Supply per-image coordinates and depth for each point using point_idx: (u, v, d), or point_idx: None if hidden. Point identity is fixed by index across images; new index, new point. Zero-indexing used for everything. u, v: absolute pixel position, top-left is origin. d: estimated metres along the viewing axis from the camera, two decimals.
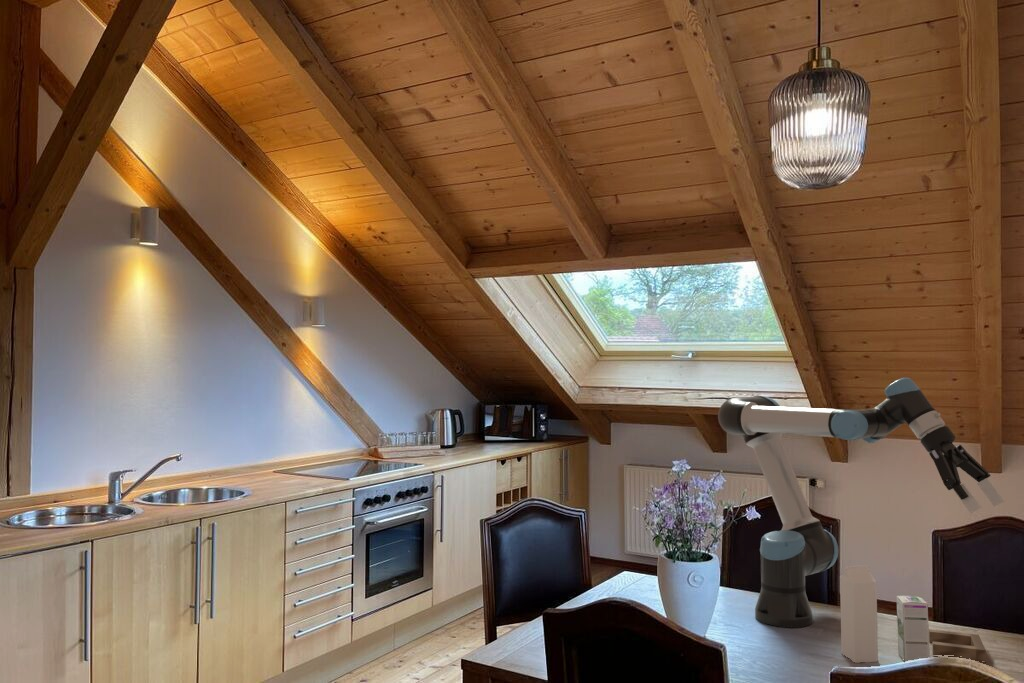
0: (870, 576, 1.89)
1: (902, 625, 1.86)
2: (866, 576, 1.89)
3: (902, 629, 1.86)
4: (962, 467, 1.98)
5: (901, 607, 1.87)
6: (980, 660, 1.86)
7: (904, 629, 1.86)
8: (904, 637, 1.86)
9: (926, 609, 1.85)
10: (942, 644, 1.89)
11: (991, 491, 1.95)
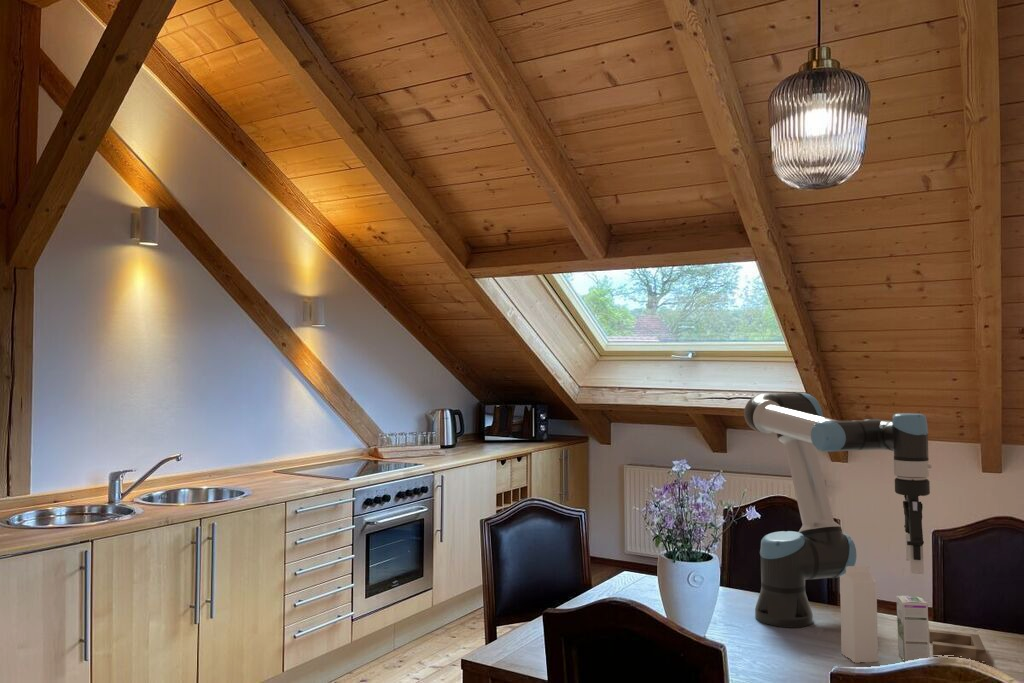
0: (870, 576, 1.89)
1: (902, 625, 1.86)
2: (866, 576, 1.89)
3: (902, 629, 1.86)
4: None
5: (901, 607, 1.87)
6: (980, 660, 1.86)
7: (904, 629, 1.86)
8: (904, 637, 1.86)
9: (926, 609, 1.85)
10: (942, 644, 1.89)
11: None
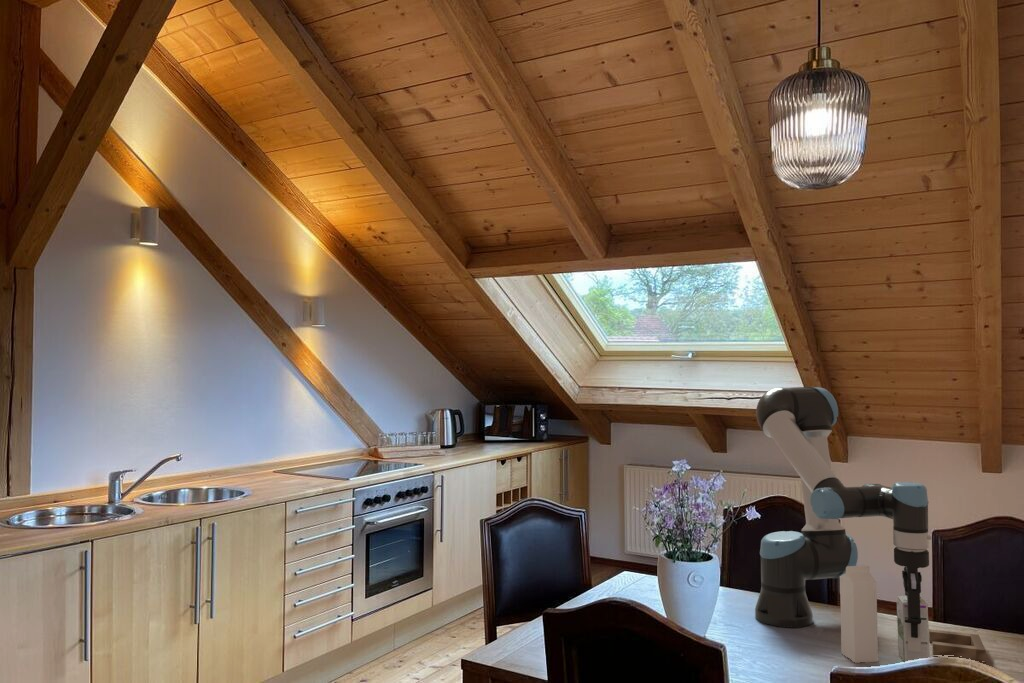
0: (870, 576, 1.89)
1: (902, 625, 1.86)
2: (866, 576, 1.89)
3: (902, 629, 1.86)
4: None
5: (901, 607, 1.87)
6: (980, 660, 1.86)
7: (904, 629, 1.86)
8: (904, 637, 1.86)
9: (926, 609, 1.85)
10: (942, 644, 1.89)
11: None
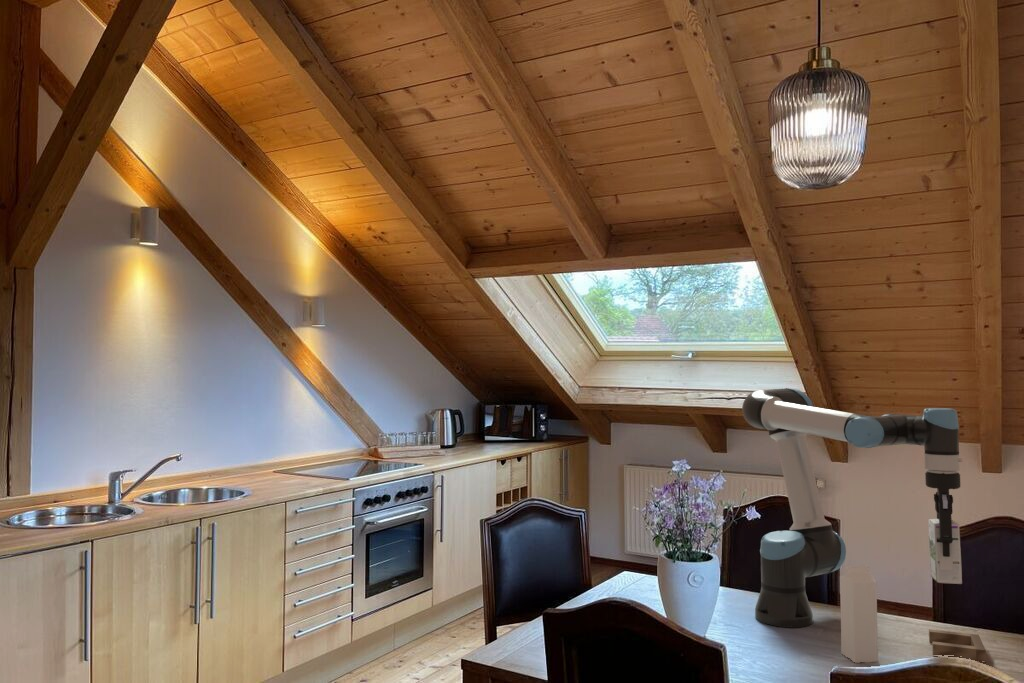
0: (870, 576, 1.89)
1: (934, 545, 1.91)
2: (866, 576, 1.89)
3: (934, 549, 1.91)
4: (939, 513, 1.95)
5: (933, 528, 1.91)
6: (980, 660, 1.86)
7: (936, 549, 1.90)
8: (936, 557, 1.90)
9: (958, 529, 1.89)
10: (942, 644, 1.89)
11: None
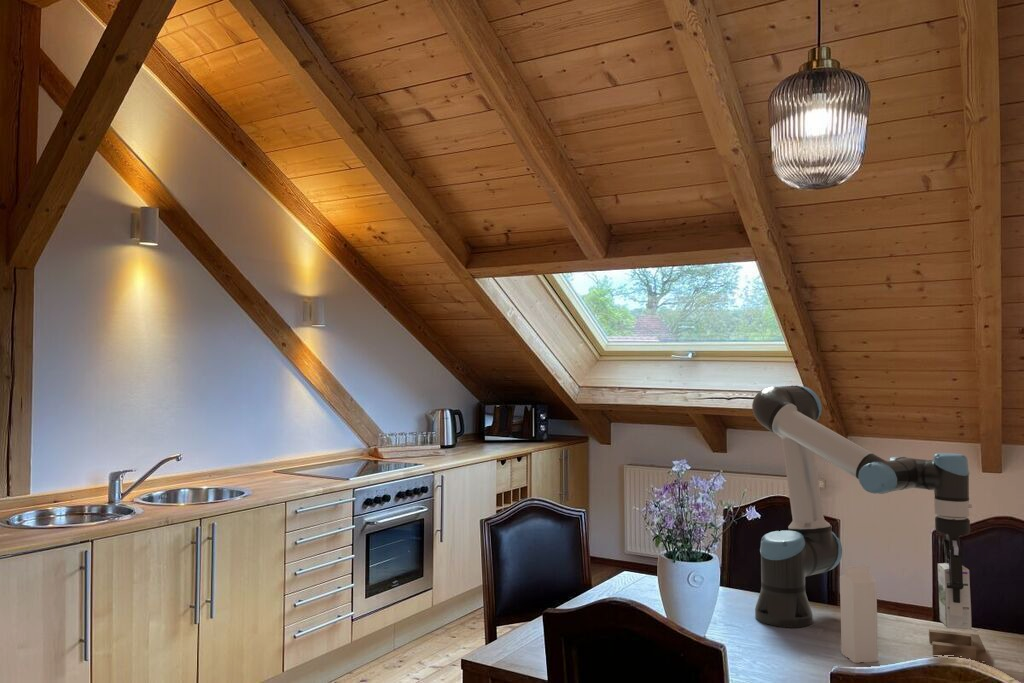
0: (870, 576, 1.89)
1: (944, 591, 1.92)
2: (866, 576, 1.89)
3: (944, 595, 1.92)
4: None
5: (943, 573, 1.92)
6: (980, 660, 1.86)
7: (946, 595, 1.91)
8: (946, 602, 1.91)
9: (968, 575, 1.90)
10: (942, 644, 1.89)
11: None
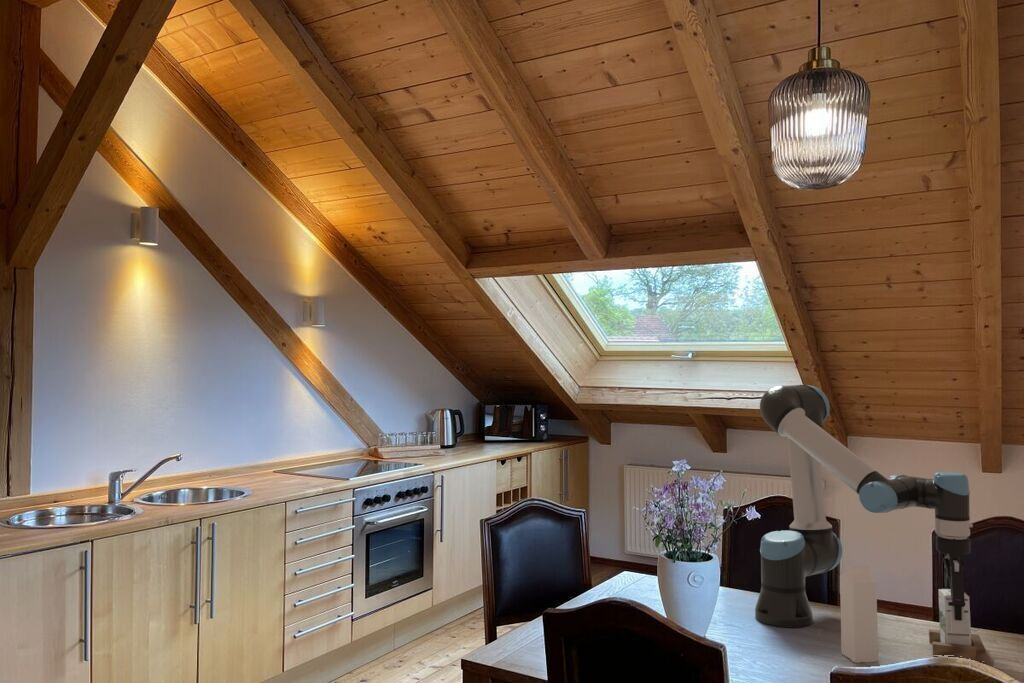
0: (870, 576, 1.89)
1: (944, 617, 1.92)
2: (866, 576, 1.89)
3: (944, 621, 1.92)
4: None
5: (943, 600, 1.92)
6: (980, 660, 1.86)
7: (946, 621, 1.91)
8: (946, 629, 1.91)
9: (968, 602, 1.90)
10: (942, 644, 1.89)
11: None
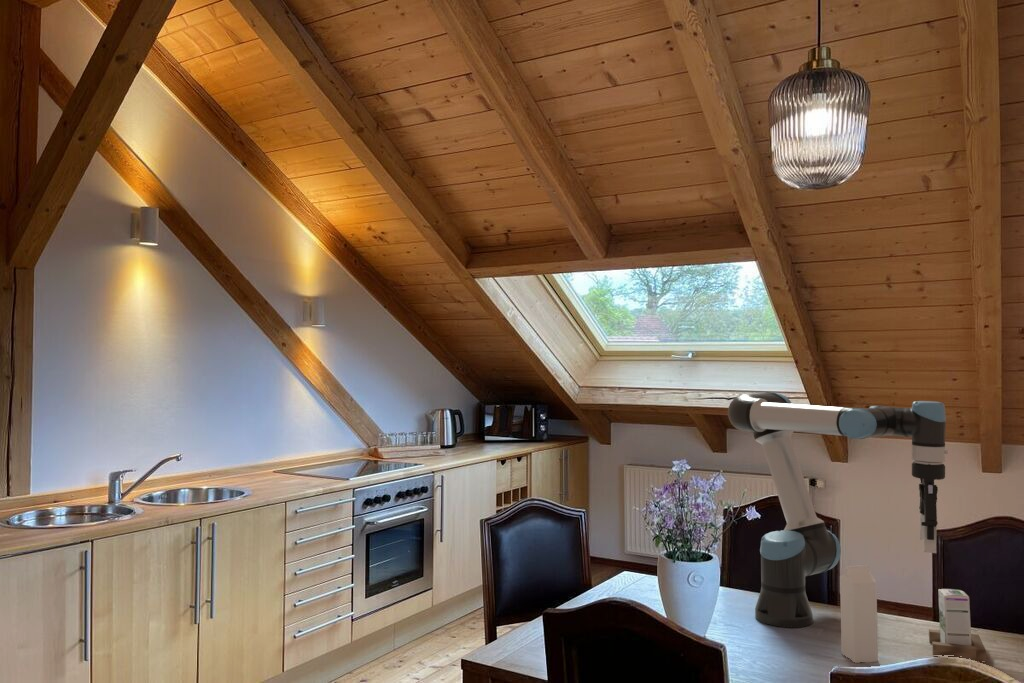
0: (870, 576, 1.89)
1: (944, 617, 1.92)
2: (866, 576, 1.89)
3: (944, 621, 1.92)
4: None
5: (943, 600, 1.92)
6: (980, 660, 1.86)
7: (946, 621, 1.91)
8: (946, 629, 1.91)
9: (968, 602, 1.90)
10: (942, 644, 1.89)
11: None
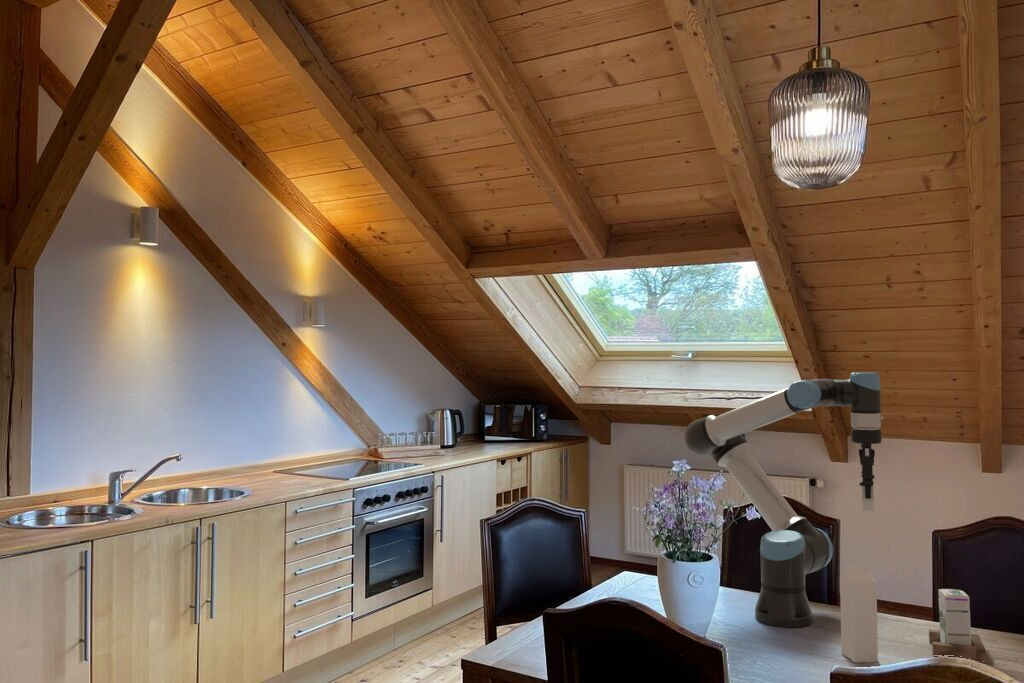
0: (870, 576, 1.89)
1: (944, 617, 1.92)
2: (866, 576, 1.89)
3: (944, 621, 1.92)
4: None
5: (943, 600, 1.92)
6: (980, 660, 1.86)
7: (946, 621, 1.91)
8: (946, 629, 1.91)
9: (968, 602, 1.90)
10: (942, 644, 1.89)
11: None
